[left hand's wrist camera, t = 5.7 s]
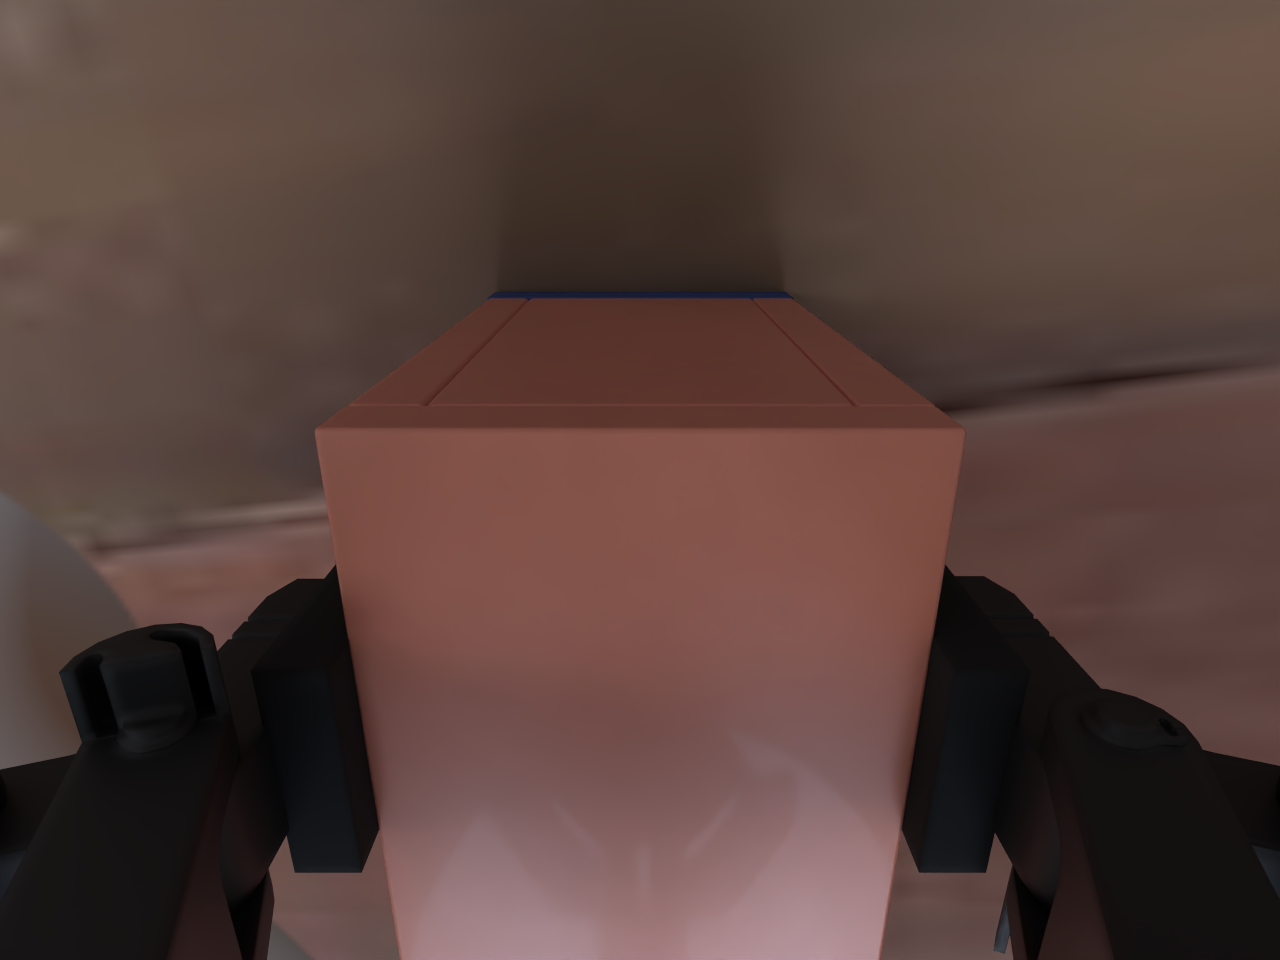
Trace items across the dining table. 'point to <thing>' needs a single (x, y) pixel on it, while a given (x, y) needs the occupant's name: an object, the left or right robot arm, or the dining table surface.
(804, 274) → the dining table surface
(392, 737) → the cabinet
